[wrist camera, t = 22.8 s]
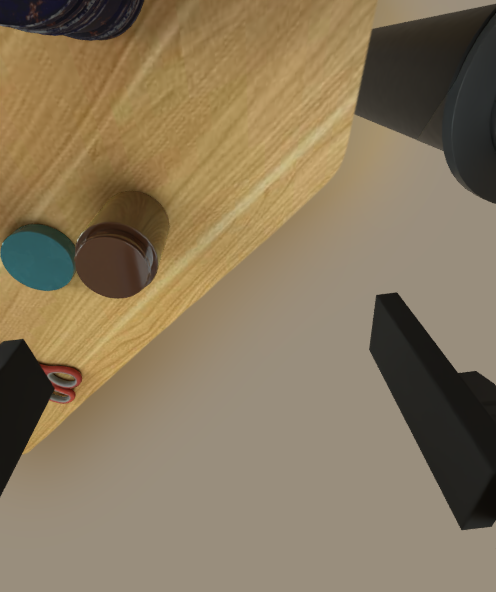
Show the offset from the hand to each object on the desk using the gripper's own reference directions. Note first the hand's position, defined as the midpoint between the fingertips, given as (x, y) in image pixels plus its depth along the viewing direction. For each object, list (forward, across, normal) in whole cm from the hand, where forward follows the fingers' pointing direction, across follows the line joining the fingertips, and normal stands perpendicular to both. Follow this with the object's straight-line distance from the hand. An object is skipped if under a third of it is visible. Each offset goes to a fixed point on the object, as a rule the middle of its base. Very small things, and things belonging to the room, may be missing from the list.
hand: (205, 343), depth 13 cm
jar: (+29, -10, -6) cm, 31 cm away
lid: (+27, -22, -8) cm, 36 cm away
